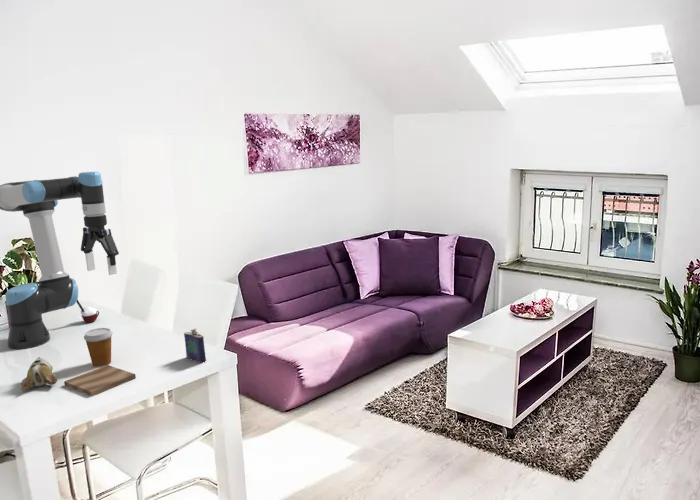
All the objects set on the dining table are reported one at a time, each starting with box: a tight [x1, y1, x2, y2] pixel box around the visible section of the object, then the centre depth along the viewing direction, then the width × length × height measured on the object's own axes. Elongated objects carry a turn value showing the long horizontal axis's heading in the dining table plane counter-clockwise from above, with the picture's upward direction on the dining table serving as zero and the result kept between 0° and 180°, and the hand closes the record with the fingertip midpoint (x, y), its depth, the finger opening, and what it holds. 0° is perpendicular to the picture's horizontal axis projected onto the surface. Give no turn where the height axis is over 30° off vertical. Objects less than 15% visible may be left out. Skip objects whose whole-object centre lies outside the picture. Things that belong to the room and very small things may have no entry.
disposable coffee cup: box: [83, 327, 113, 368], centre depth 215 cm, size 10×10×12 cm
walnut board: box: [63, 364, 137, 397], centre depth 200 cm, size 16×16×2 cm
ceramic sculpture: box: [20, 356, 58, 391], centre depth 200 cm, size 11×9×15 cm
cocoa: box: [76, 298, 100, 324], centre depth 265 cm, size 10×6×12 cm
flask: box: [183, 328, 207, 364], centre depth 215 cm, size 10×3×12 cm, turn 50°
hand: (102, 272), depth 220 cm, fingers open, 13 cm apart
